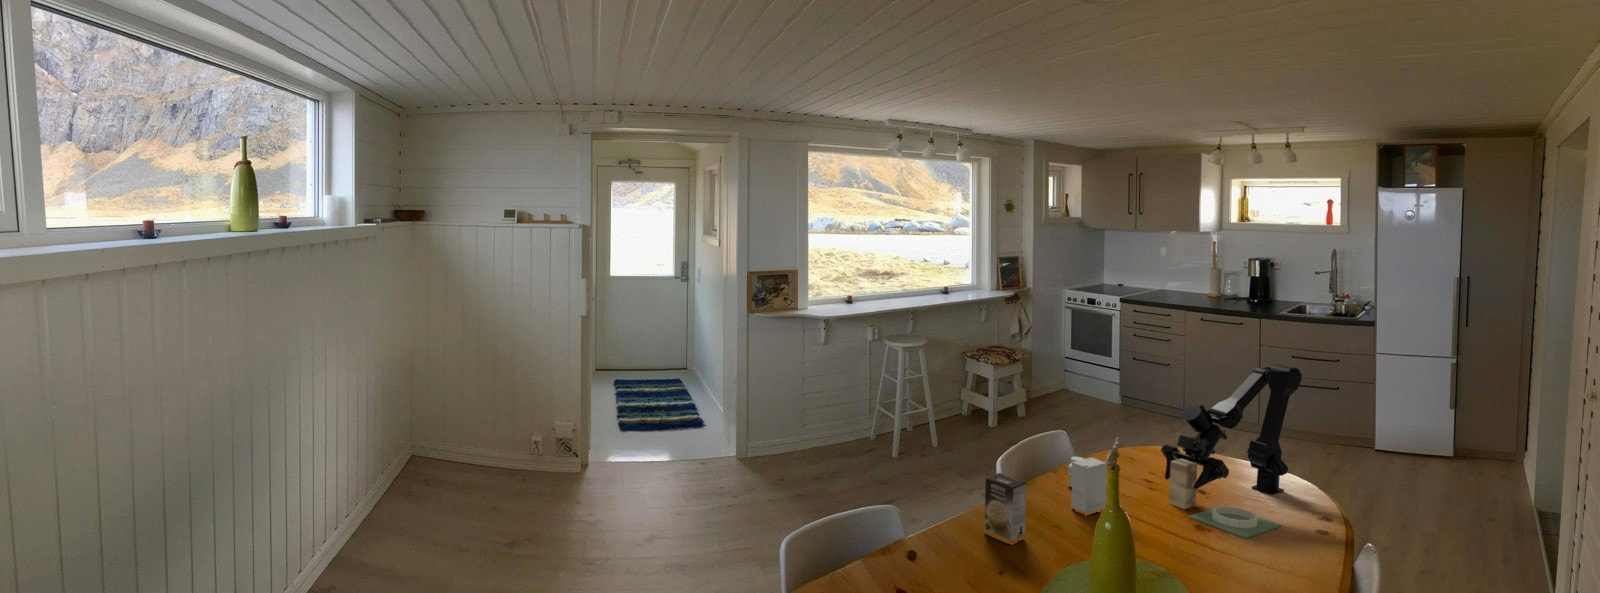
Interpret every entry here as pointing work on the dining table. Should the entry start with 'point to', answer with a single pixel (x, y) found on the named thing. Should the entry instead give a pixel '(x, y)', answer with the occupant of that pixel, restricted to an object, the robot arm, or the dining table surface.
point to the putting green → (1235, 521)
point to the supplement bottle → (1073, 459)
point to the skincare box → (1088, 485)
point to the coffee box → (1005, 506)
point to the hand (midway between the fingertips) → (1180, 483)
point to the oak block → (1183, 483)
